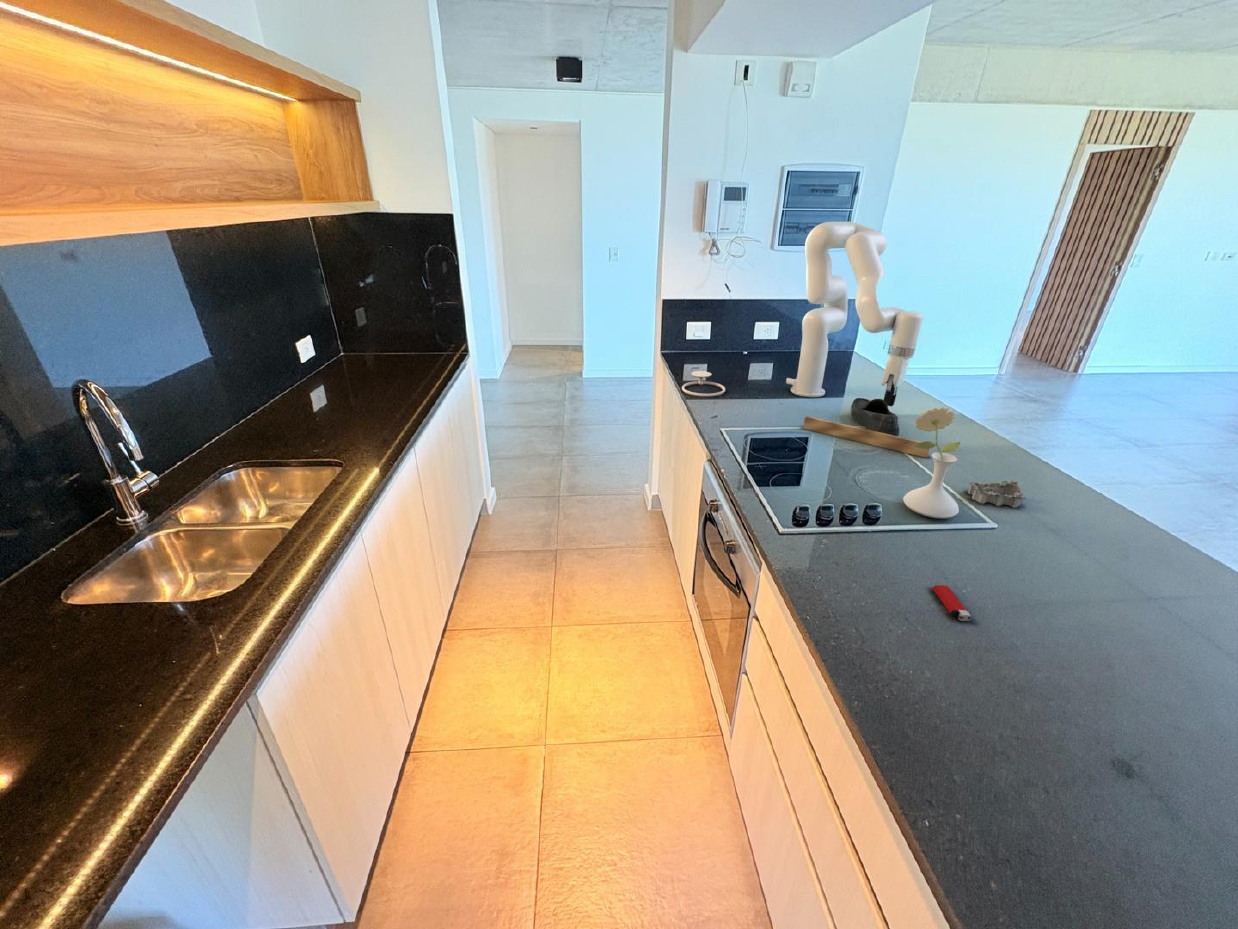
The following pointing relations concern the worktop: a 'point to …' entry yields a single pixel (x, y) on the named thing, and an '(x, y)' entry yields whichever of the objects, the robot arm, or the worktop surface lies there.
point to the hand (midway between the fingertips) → (888, 404)
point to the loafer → (875, 416)
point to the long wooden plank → (865, 436)
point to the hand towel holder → (702, 375)
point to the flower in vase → (935, 470)
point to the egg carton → (997, 493)
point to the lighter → (952, 602)
